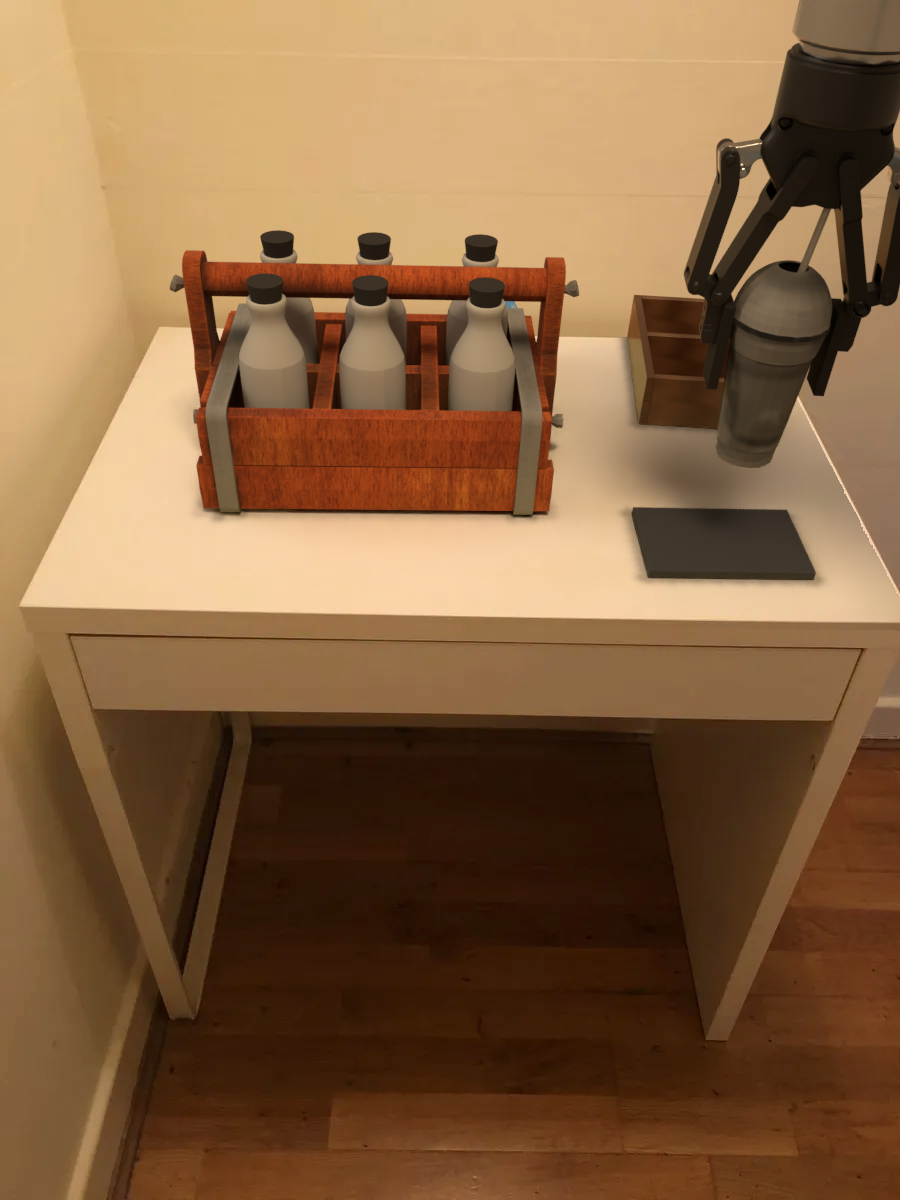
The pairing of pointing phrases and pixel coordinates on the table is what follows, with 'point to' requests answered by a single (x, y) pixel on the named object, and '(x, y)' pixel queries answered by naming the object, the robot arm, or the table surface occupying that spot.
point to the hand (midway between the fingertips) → (762, 383)
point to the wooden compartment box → (671, 363)
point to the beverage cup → (771, 354)
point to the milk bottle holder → (375, 381)
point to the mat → (721, 544)
